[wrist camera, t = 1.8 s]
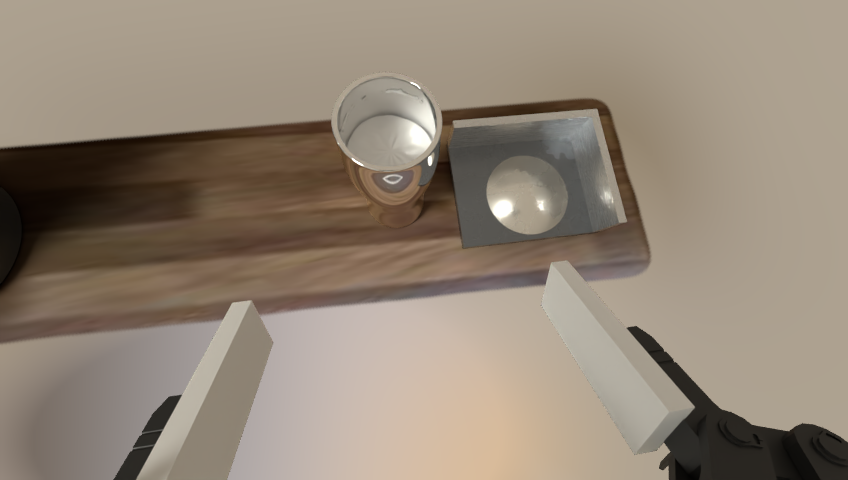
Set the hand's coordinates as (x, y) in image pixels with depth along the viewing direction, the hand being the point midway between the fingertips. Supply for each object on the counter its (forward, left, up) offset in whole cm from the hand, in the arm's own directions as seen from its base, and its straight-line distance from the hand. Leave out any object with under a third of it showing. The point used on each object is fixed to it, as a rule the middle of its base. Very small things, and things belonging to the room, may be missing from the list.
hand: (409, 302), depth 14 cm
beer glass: (-10, +3, -17) cm, 20 cm away
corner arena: (-7, +16, -17) cm, 24 cm away
